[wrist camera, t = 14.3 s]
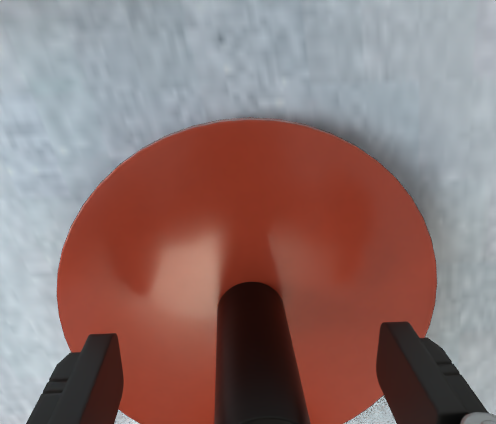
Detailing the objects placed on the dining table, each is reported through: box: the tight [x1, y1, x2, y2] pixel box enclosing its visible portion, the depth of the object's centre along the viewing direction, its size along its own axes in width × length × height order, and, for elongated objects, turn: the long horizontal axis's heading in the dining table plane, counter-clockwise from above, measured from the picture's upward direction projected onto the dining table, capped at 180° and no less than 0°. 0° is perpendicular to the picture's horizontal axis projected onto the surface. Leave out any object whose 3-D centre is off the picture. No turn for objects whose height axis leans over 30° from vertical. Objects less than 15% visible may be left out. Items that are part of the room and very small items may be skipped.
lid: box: [57, 118, 437, 424], centre depth 13 cm, size 14×14×7 cm
